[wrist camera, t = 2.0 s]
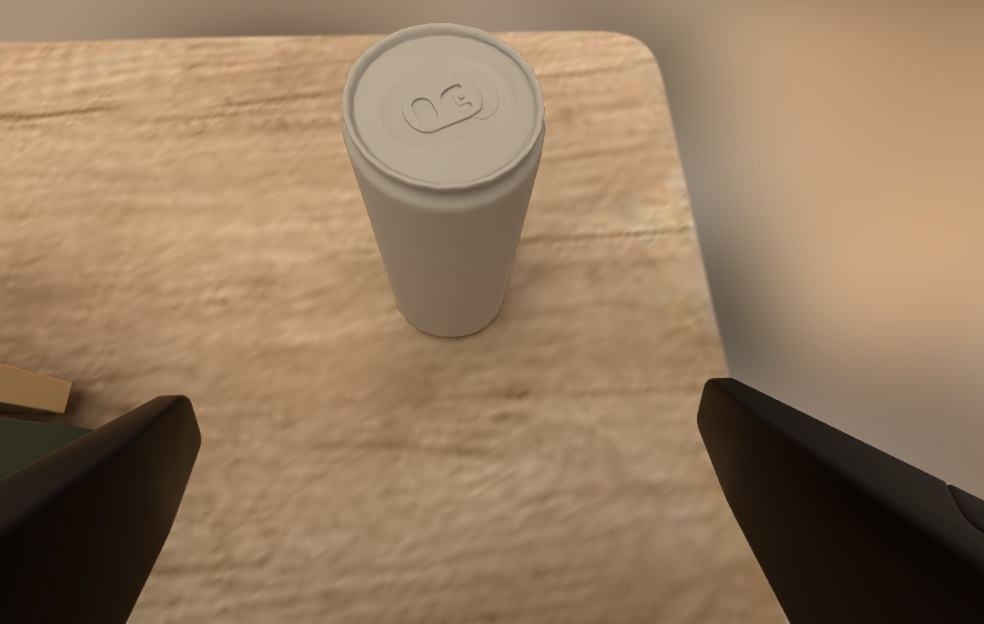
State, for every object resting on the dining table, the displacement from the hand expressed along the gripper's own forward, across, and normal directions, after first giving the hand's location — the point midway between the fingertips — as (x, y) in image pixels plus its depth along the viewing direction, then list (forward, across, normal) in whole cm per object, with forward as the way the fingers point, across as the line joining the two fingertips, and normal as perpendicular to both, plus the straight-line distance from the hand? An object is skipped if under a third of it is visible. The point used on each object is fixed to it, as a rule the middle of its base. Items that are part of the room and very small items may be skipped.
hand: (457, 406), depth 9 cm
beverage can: (+14, 0, +4) cm, 14 cm away
